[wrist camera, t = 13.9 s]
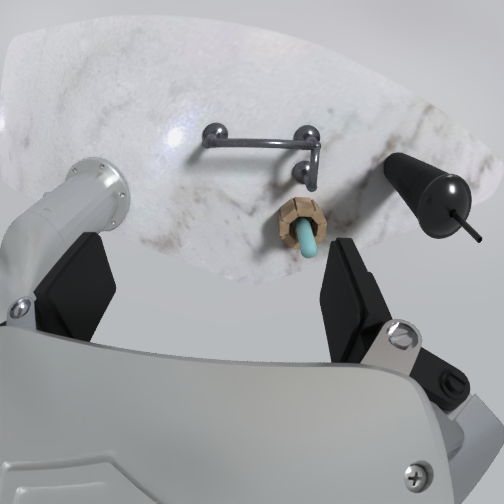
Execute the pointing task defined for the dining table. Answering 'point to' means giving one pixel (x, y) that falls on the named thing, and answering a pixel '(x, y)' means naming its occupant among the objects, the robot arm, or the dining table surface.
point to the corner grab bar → (304, 140)
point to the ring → (301, 209)
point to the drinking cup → (431, 195)
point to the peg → (305, 236)
